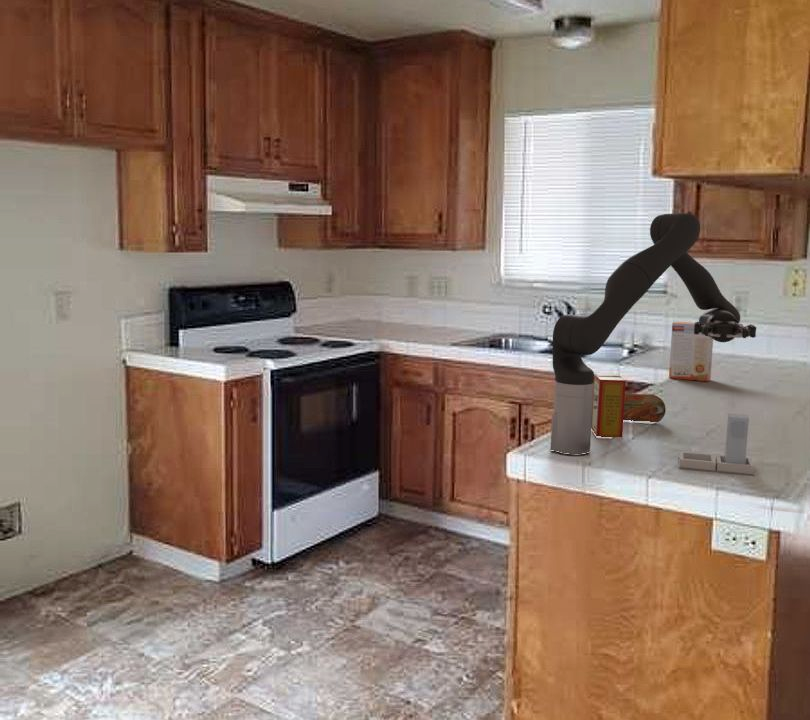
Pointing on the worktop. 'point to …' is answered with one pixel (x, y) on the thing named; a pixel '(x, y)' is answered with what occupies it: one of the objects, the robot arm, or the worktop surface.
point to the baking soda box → (608, 405)
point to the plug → (736, 438)
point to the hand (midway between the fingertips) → (725, 332)
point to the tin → (643, 407)
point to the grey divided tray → (713, 464)
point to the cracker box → (690, 353)
